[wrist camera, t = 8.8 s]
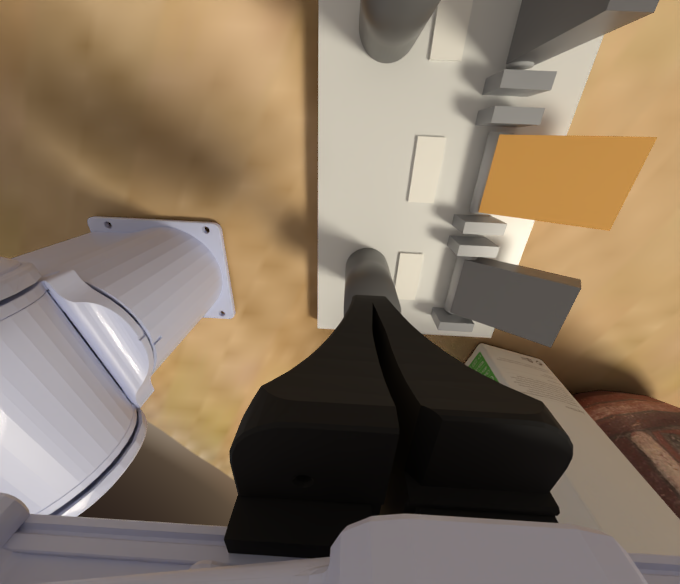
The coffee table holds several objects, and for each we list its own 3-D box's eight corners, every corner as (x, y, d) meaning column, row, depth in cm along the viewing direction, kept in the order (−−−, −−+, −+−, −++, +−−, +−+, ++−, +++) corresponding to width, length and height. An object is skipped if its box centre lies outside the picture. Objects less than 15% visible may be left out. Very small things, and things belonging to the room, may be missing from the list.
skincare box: (479, 339, 24) (657, 605, 10) (546, 358, 24) (797, 632, 11) (435, 402, 28) (519, 658, 14) (493, 417, 28) (629, 675, 14)
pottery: (557, 344, 24) (971, 751, 8) (726, 389, 25) (1350, 801, 9) (459, 458, 32) (564, 768, 16) (591, 487, 34) (804, 793, 18)
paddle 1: (441, 310, 20) (550, 348, 16) (455, 255, 18) (582, 286, 14) (447, 303, 21) (551, 338, 17) (461, 250, 19) (581, 278, 15)
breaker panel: (319, 320, 23) (307, 384, 17) (321, -136, 12) (288, -451, 6) (484, 329, 23) (535, 398, 17) (644, -125, 12) (983, -440, 6)
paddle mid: (467, 212, 17) (608, 232, 14) (487, 132, 15) (658, 134, 12) (471, 209, 18) (603, 227, 15) (490, 133, 16) (648, 136, 13)
